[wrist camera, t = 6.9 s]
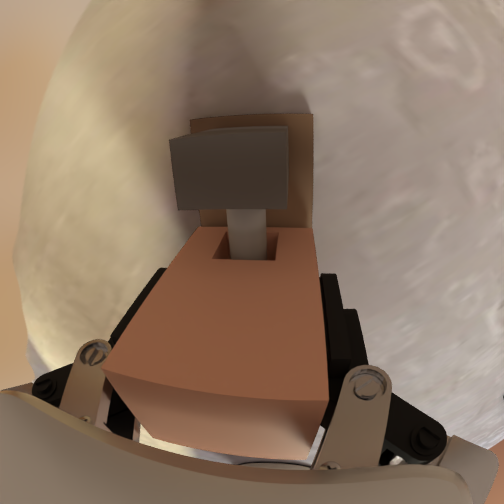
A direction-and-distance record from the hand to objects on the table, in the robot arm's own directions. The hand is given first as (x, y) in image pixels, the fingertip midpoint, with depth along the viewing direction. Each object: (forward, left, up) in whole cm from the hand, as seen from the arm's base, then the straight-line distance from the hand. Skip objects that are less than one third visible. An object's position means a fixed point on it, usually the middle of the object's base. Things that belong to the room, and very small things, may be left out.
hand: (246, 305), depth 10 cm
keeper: (0, 0, -4) cm, 4 cm away
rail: (-1, +1, -4) cm, 4 cm away
